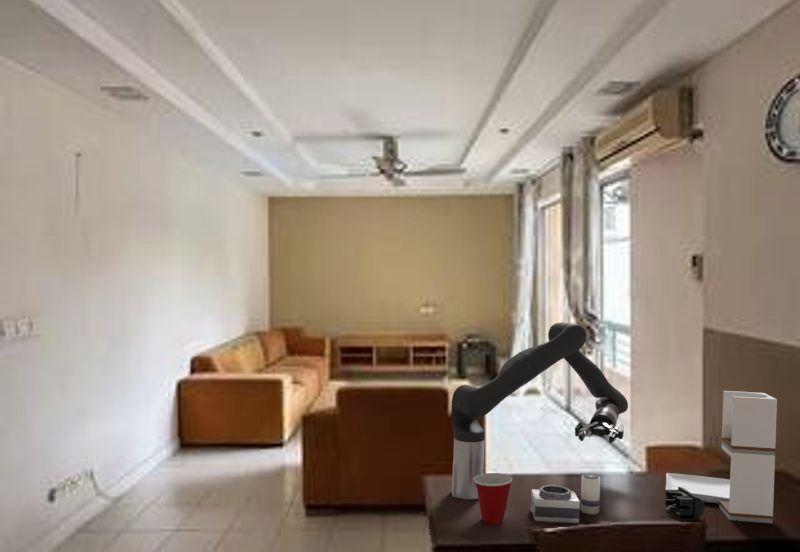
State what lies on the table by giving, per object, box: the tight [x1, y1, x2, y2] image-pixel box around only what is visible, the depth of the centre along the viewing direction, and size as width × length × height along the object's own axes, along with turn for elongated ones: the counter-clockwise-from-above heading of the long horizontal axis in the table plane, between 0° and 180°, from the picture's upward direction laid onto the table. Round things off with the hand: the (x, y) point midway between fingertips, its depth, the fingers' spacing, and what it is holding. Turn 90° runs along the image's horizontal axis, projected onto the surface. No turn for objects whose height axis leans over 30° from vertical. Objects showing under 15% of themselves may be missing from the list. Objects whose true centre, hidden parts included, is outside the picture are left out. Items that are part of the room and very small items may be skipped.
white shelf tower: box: [718, 390, 778, 524], centre depth 209 cm, size 11×11×35 cm
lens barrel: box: [580, 473, 601, 515], centre depth 208 cm, size 5×5×10 cm
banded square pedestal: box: [530, 484, 581, 524], centre depth 203 cm, size 12×9×8 cm
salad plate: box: [664, 472, 730, 504], centre depth 228 cm, size 21×21×3 cm
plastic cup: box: [473, 472, 514, 525], centre depth 198 cm, size 11×11×12 cm
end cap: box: [664, 487, 706, 521], centre depth 208 cm, size 10×7×7 cm
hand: (595, 439), depth 217 cm, fingers open, 8 cm apart
